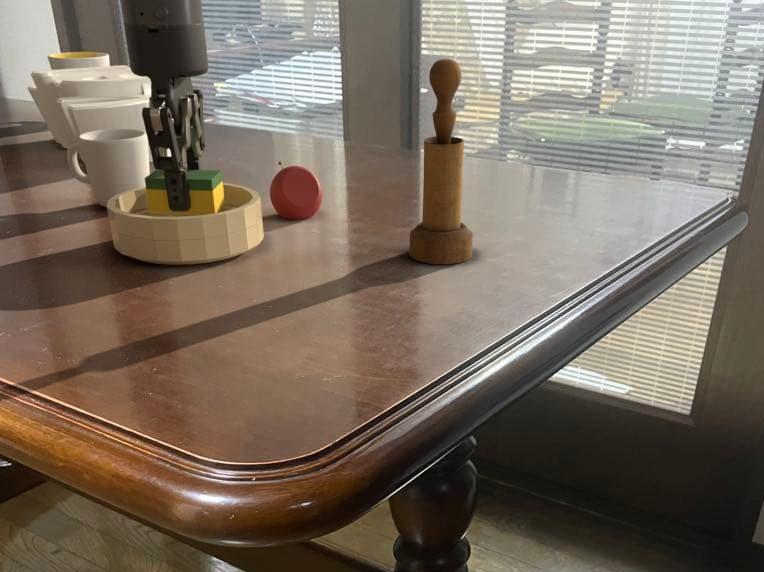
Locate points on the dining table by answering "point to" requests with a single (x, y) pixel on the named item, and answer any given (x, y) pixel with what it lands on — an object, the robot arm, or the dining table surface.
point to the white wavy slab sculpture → (90, 101)
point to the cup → (111, 161)
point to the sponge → (201, 187)
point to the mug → (78, 60)
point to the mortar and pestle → (442, 180)
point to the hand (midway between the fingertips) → (186, 203)
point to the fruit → (295, 193)
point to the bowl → (186, 228)
